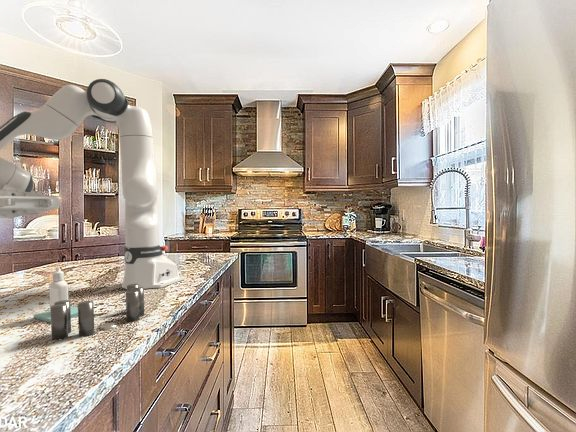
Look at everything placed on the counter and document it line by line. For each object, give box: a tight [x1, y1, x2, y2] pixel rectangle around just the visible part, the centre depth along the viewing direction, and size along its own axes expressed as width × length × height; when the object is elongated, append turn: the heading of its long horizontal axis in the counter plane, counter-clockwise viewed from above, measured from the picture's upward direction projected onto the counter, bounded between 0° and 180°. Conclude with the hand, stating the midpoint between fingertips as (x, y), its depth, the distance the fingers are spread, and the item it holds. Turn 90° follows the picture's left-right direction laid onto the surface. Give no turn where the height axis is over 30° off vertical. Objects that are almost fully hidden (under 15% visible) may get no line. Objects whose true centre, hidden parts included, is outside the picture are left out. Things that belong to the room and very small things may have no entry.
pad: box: [33, 305, 78, 324], centre depth 90 cm, size 9×9×1 cm
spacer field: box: [49, 284, 145, 341], centre depth 82 cm, size 23×10×7 cm, turn 151°
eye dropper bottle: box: [48, 266, 69, 313], centre depth 89 cm, size 4×6×12 cm
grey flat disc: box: [100, 322, 119, 331], centre depth 80 cm, size 4×4×1 cm
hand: (32, 202), depth 95 cm, fingers open, 8 cm apart
